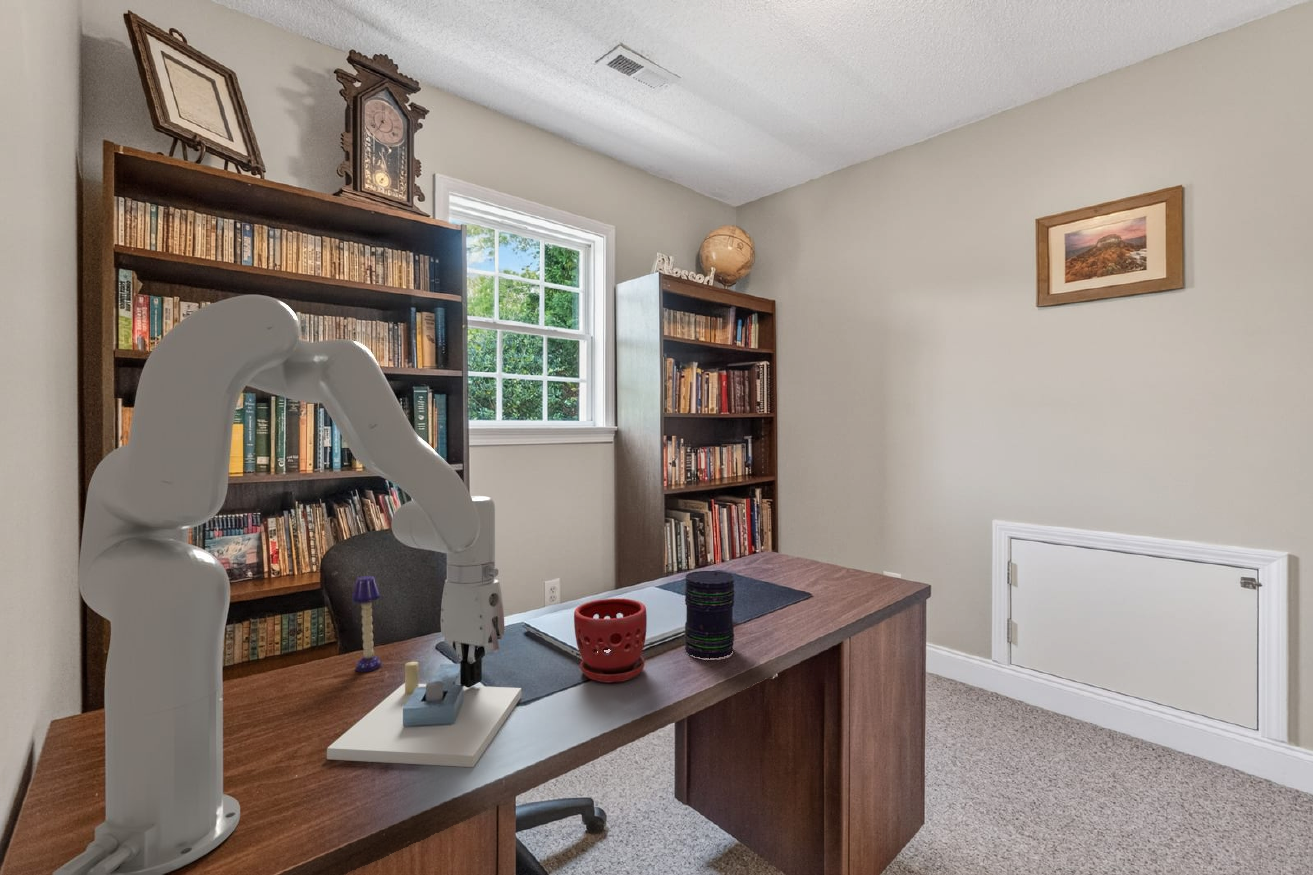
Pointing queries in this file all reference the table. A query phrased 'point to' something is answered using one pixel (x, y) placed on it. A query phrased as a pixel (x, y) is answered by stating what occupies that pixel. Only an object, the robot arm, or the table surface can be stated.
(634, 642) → the plant pot
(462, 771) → the table surface
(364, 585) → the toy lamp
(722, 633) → the storage jar
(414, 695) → the square nut with handle
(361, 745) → the post board
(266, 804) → the table surface
